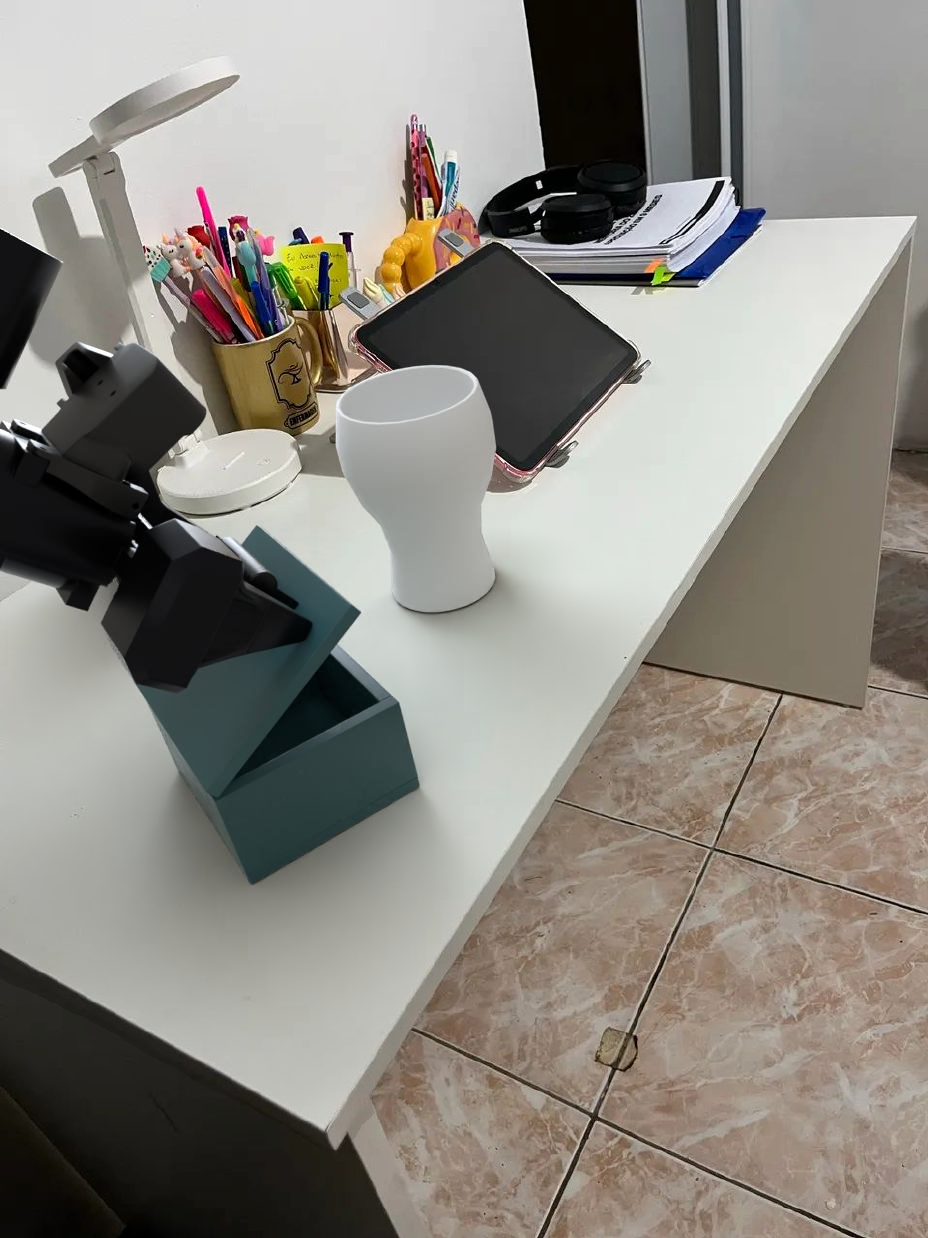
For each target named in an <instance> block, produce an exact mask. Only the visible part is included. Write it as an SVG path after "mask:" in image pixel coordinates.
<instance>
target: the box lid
mask: <svg viewBox="0 0 928 1238" xmlns="http://www.w3.org/2000/svg"><path fill="white" fill-rule="evenodd" d="M221 539H222V540H223V541H225V542H226V543H227V544H228V545H229V546H230V547H231V548H232V549H233V550H234V551H235V552H236V553H237V554H238V555H239V556H240V558H241V559H242V561H243V565H244V575H243V579H244V581H245V582H246V583H248V584H250V585H252V586H253V587H255V588H257V589H259V590H260V591H262V592H264V593H266V594H267V595H269V596H271V597H273V598H274V599H276V600H278V601H280V602H281V603H283V604H285V605H287V606H288V607H290V608H292V609H293V610H295V611H297V612H298V613H300V614H302V615H303V616H305V617H307V618H308V619H309V620H311V621H312V623H313V626H312V628H311V630H310V632H309V634H308V636H307V638H306V640H305V641H303V642H300V643H295V644H291V645H287V646H282V647H278V648H273V649H269V650H264V651H260V652H255V653H251V654H247V655H243V656H239V657H234V658H231V659H227V660H224V661H221V662H218V663H215V664H211V665H208V666H205V667H202V668H199V669H198V670H197V672H196V673H195V675H194V676H193V677H192V679H191V681H190V683H189V685H188V687H187V688H186V689H184V690H182V691H180V692H178V693H177V694H176V693H172V692H168V691H164V690H159V689H155V688H151V687H147V686H143V685H139V684H135V682H134V681H133V682H134V684H135V686H136V687H137V689H138V691H139V692H140V693H141V695H142V697H143V698H144V700H145V701H146V703H147V705H148V704H149V705H148V707H149V706H150V707H151V709H152V710H153V712H154V713H155V715H156V716H157V718H158V720H159V721H160V723H161V724H162V726H163V727H164V729H165V730H166V732H167V733H168V735H169V736H170V738H171V739H172V741H173V743H174V744H175V746H176V747H177V749H178V750H179V752H180V753H181V755H182V756H183V758H184V759H185V761H186V762H187V764H188V766H189V767H190V769H191V770H192V772H193V773H194V775H195V776H196V778H197V779H198V781H199V782H200V784H201V785H202V787H203V789H204V790H205V792H206V793H208V794H210V795H213V796H215V797H219V796H220V795H221V793H222V792H223V791H224V789H225V788H226V787H227V786H228V784H229V783H230V782H231V780H232V779H233V778H234V777H235V775H236V774H237V773H238V771H239V770H240V769H241V768H242V766H243V765H244V764H245V762H246V761H247V760H248V758H249V757H250V756H251V755H252V753H253V752H254V751H255V749H256V748H257V747H258V746H259V744H260V743H261V742H262V740H263V739H264V738H265V737H266V735H267V734H268V733H269V731H270V730H271V729H272V728H273V726H274V725H275V724H276V722H277V721H278V720H279V718H280V717H281V716H282V715H283V713H284V712H285V711H286V709H287V708H288V707H289V706H290V704H291V703H292V702H293V700H294V699H295V698H296V697H297V695H298V694H299V693H300V691H301V690H302V689H303V688H304V686H305V685H306V684H307V682H308V681H309V680H310V678H311V677H312V676H313V675H314V673H315V672H316V671H317V669H318V668H319V667H320V666H321V664H322V663H323V662H324V660H325V659H326V658H327V657H328V655H329V654H330V653H331V651H332V650H333V649H334V648H335V646H336V645H337V644H338V645H339V643H340V641H341V640H342V639H343V637H344V636H345V635H346V633H348V631H349V630H350V629H351V627H352V626H353V625H354V623H355V622H356V620H357V619H359V617H360V615H361V614H362V611H361V610H360V609H359V608H357V607H356V605H354V604H353V603H352V602H350V600H348V599H347V598H346V597H344V596H343V595H342V594H341V593H340V592H339V591H338V590H337V589H335V587H333V586H332V585H331V584H330V583H328V582H327V581H326V580H325V579H323V578H322V577H321V576H320V575H319V574H318V573H317V572H316V571H314V570H313V569H312V568H311V567H309V566H308V565H307V564H306V563H305V562H304V561H303V560H301V559H300V558H299V557H298V556H297V555H296V554H294V553H293V552H292V551H291V550H289V548H287V546H285V545H284V544H283V543H282V542H280V541H279V540H278V539H277V538H276V537H275V536H274V535H272V534H271V533H270V532H269V531H268V530H267V529H265V528H263V527H262V526H261V525H259V524H255V526H254V528H253V529H252V530H251V531H250V533H248V535H247V537H246V538H245V539H244V540H243V542H242V543H240V542H239V541H238V540H236V539H235V538H233V537H221ZM150 707H149V708H150Z"/></svg>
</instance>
